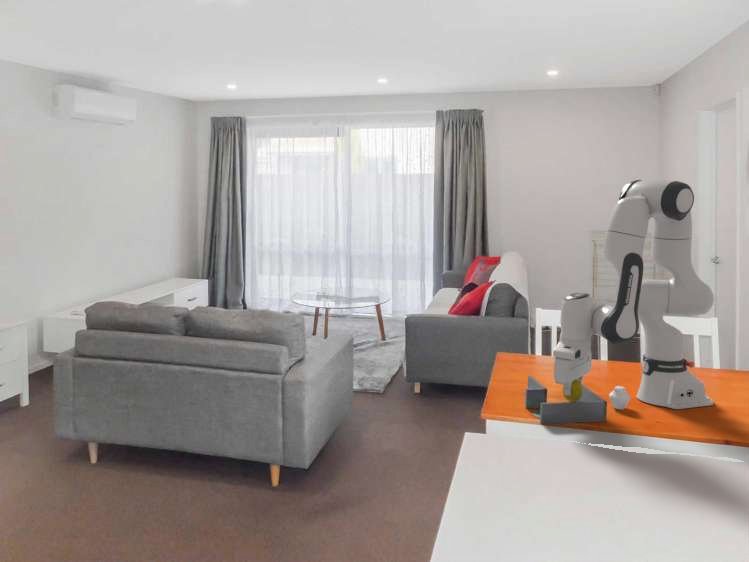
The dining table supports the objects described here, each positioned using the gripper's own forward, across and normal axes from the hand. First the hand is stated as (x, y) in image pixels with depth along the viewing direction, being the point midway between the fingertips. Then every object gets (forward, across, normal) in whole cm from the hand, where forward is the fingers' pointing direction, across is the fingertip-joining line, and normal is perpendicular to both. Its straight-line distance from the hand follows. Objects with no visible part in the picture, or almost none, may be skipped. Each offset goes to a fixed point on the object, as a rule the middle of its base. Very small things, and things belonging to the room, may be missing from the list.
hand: (572, 392), depth 184 cm
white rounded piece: (+7, -14, +9) cm, 18 cm away
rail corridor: (+7, -2, -6) cm, 9 cm away
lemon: (+4, 0, 0) cm, 4 cm away
